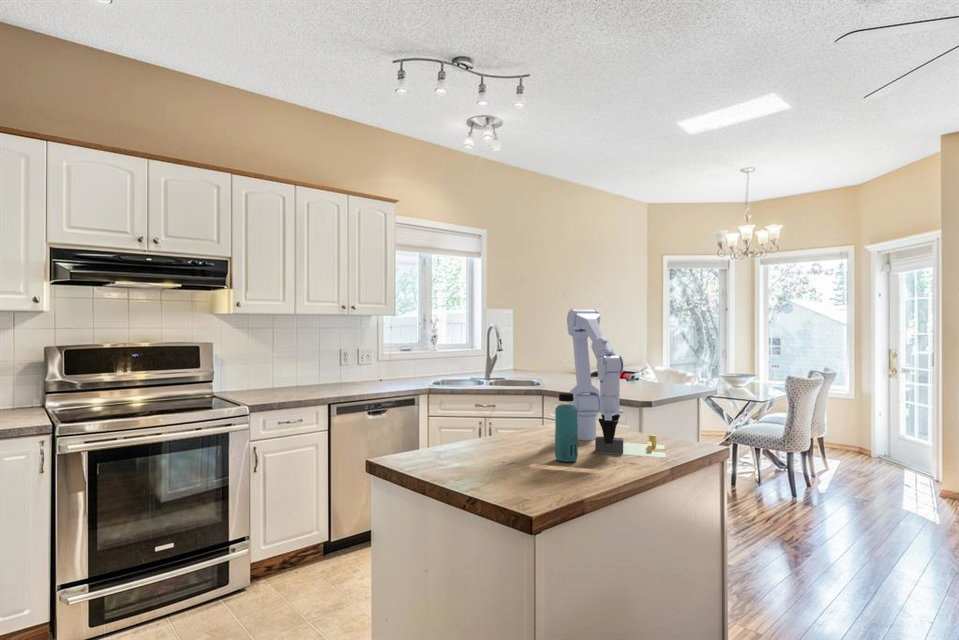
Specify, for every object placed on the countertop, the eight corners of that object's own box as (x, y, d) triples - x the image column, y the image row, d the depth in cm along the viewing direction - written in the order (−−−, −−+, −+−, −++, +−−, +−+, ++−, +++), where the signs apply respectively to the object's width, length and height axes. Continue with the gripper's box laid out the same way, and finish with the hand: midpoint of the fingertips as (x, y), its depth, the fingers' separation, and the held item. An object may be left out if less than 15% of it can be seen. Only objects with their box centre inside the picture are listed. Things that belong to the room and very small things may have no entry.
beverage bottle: (571, 468, 152) (571, 395, 152) (550, 464, 156) (550, 393, 156) (582, 463, 157) (582, 392, 157) (561, 459, 161) (561, 390, 161)
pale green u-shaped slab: (595, 455, 166) (595, 440, 166) (599, 443, 181) (599, 430, 181) (665, 460, 160) (665, 445, 160) (664, 448, 175) (664, 434, 175)
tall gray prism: (595, 452, 166) (595, 438, 166) (596, 449, 169) (596, 436, 169) (622, 454, 164) (622, 440, 164) (623, 451, 167) (623, 438, 167)
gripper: (622, 399, 158) (622, 446, 158) (624, 392, 172) (624, 436, 172) (597, 398, 160) (597, 445, 160) (601, 391, 174) (601, 435, 174)
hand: (609, 440), depth 166 cm, fingers open, 7 cm apart
